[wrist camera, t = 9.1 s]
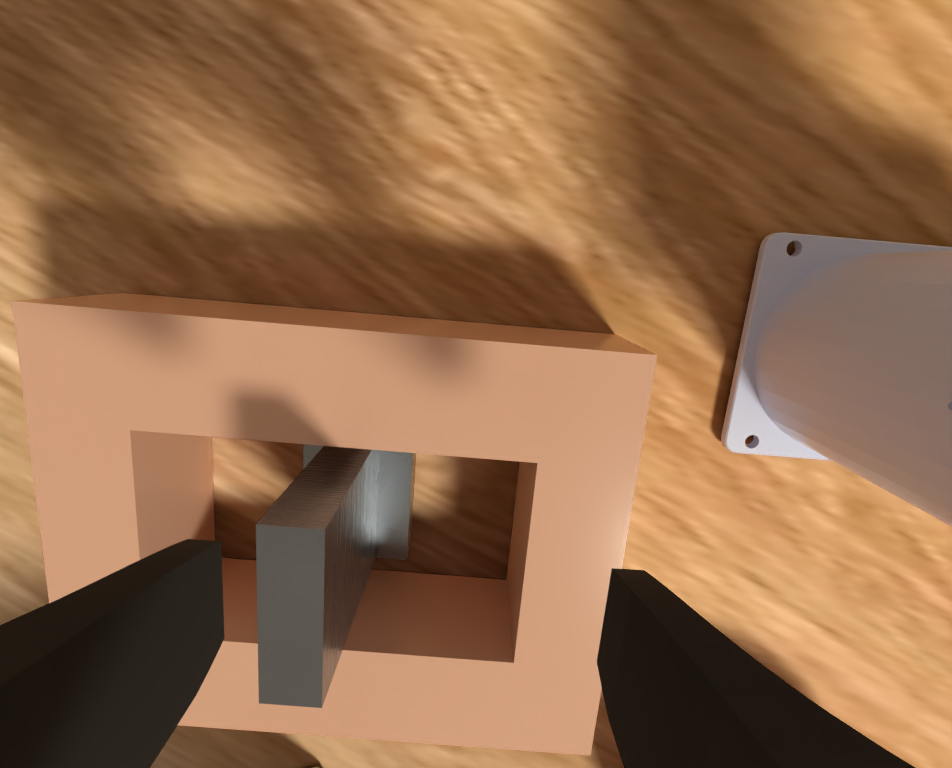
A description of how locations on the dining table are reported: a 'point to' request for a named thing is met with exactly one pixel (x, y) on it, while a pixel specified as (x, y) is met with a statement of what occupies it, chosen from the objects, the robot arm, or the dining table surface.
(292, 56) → the dining table surface
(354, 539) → the brushed metal prism
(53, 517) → the holder block
